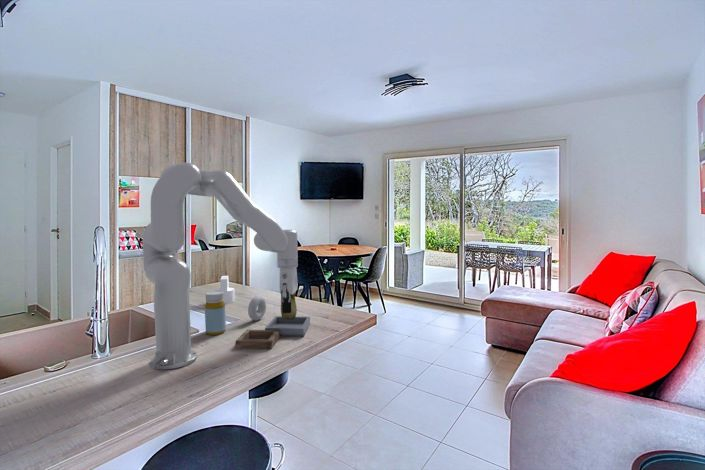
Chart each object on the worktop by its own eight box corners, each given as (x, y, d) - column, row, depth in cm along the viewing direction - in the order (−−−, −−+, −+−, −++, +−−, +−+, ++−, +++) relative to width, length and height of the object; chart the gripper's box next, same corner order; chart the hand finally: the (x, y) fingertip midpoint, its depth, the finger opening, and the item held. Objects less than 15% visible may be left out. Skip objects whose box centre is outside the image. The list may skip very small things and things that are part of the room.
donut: (253, 324, 145) (253, 299, 144) (246, 323, 146) (245, 298, 145) (268, 317, 154) (267, 293, 153) (261, 316, 155) (260, 293, 154)
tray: (303, 336, 131) (303, 328, 131) (265, 336, 132) (265, 328, 131) (310, 324, 145) (310, 316, 145) (275, 323, 146) (275, 316, 145)
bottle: (229, 332, 136) (228, 292, 135) (211, 337, 131) (209, 296, 129) (220, 327, 141) (219, 289, 139) (202, 332, 135) (201, 292, 134)
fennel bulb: (280, 321, 135) (280, 289, 134) (281, 317, 140) (280, 286, 139) (296, 320, 136) (296, 288, 135) (296, 316, 141) (296, 285, 140)
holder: (271, 348, 120) (271, 341, 120) (235, 348, 120) (235, 340, 120) (279, 336, 131) (279, 330, 131) (247, 336, 131) (246, 329, 131)
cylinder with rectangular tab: (216, 299, 182) (215, 276, 181) (235, 298, 185) (234, 275, 184) (214, 304, 174) (213, 279, 173) (234, 303, 176) (233, 278, 175)
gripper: (292, 266, 127) (293, 317, 129) (301, 259, 144) (302, 304, 146) (271, 266, 128) (272, 317, 129) (283, 259, 145) (284, 304, 146)
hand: (288, 310), depth 138 cm, fingers closed on fennel bulb, 4 cm apart
